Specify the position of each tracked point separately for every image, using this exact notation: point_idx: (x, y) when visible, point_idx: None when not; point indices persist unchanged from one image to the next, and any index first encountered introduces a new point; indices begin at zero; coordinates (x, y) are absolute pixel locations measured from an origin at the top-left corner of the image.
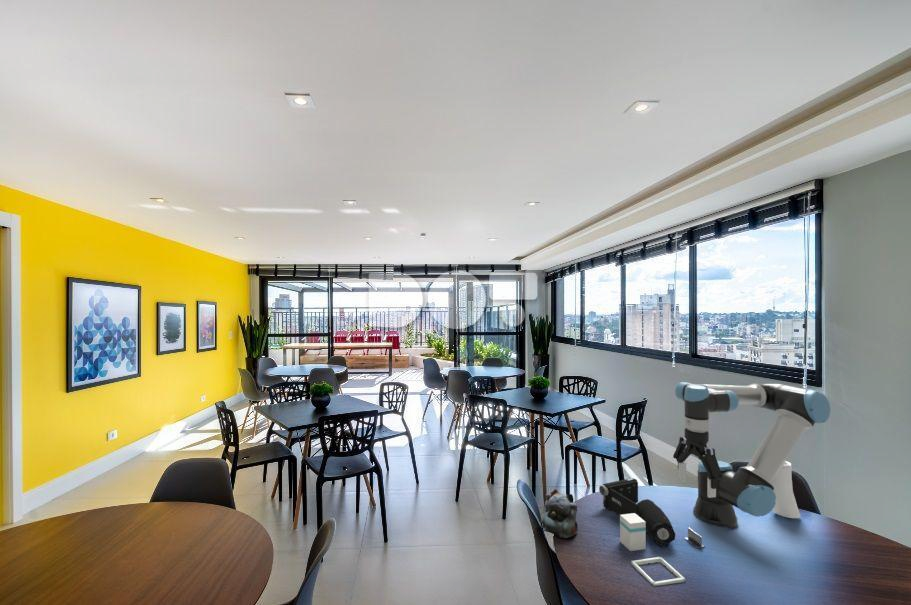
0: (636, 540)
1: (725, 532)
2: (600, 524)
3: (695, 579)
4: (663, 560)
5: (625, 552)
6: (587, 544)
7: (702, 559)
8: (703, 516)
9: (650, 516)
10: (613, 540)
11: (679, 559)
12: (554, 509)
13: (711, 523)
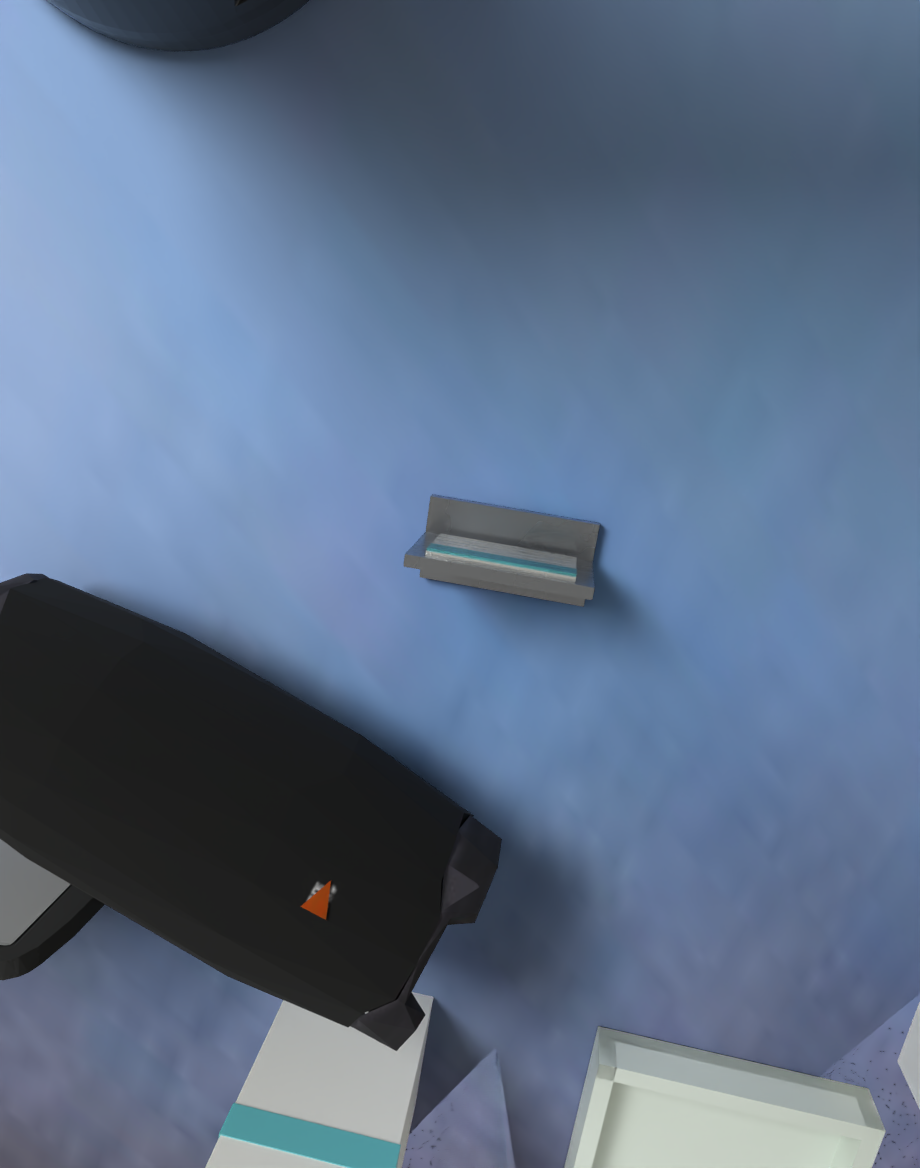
0: (404, 1141)
1: (481, 7)
2: (41, 1021)
3: (863, 979)
4: (646, 1085)
5: None
6: None
7: (715, 708)
8: (187, 17)
9: (230, 972)
10: None
11: (630, 875)
12: None
13: (293, 4)
